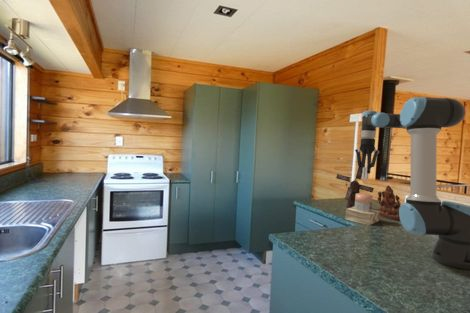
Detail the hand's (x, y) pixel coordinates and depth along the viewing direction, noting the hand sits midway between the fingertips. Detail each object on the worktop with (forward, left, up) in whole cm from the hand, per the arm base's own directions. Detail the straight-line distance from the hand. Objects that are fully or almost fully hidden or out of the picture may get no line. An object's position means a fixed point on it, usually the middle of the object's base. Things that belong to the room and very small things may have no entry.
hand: (365, 178), depth 166 cm
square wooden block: (0, 0, -24) cm, 24 cm away
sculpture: (+21, -8, -25) cm, 33 cm away
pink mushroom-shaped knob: (0, 0, -18) cm, 18 cm away
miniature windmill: (+24, +16, -25) cm, 38 cm away
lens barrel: (0, 0, -18) cm, 18 cm away
